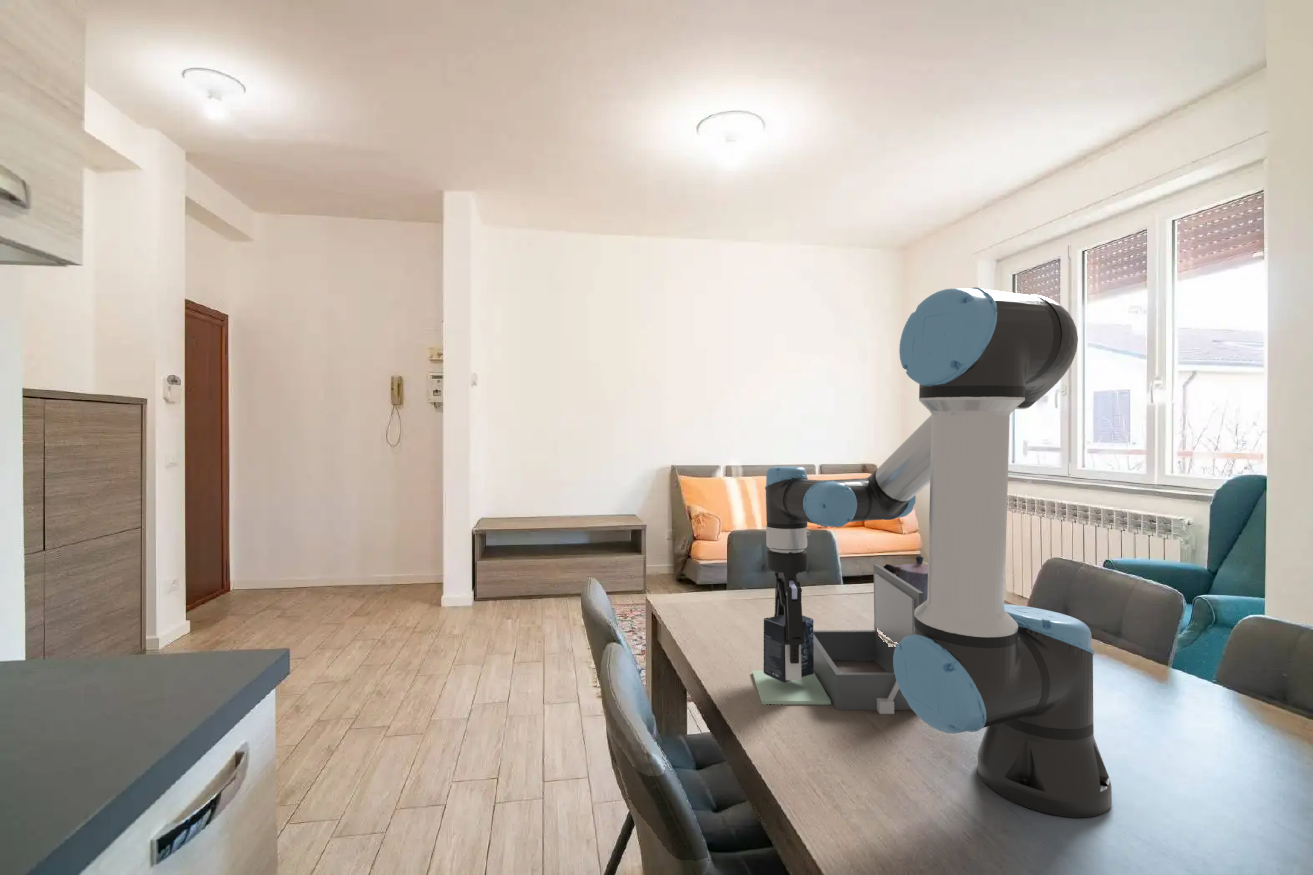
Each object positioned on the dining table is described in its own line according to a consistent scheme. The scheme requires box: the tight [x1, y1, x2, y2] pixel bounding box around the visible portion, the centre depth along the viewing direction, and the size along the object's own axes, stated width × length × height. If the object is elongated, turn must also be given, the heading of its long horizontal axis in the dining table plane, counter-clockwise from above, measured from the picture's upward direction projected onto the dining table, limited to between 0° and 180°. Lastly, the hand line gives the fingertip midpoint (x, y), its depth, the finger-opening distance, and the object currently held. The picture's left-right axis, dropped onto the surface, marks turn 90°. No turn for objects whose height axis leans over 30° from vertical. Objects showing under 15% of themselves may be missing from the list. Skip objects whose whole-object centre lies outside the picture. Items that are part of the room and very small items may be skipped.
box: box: [763, 614, 815, 683], centre depth 113 cm, size 8×6×11 cm
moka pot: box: [883, 555, 928, 602], centre depth 135 cm, size 10×15×20 cm, turn 89°
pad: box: [751, 670, 832, 706], centre depth 113 cm, size 14×12×1 cm
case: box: [813, 563, 924, 715], centre depth 115 cm, size 26×16×20 cm, turn 178°
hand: (788, 669), depth 113 cm, fingers closed on box, 9 cm apart
